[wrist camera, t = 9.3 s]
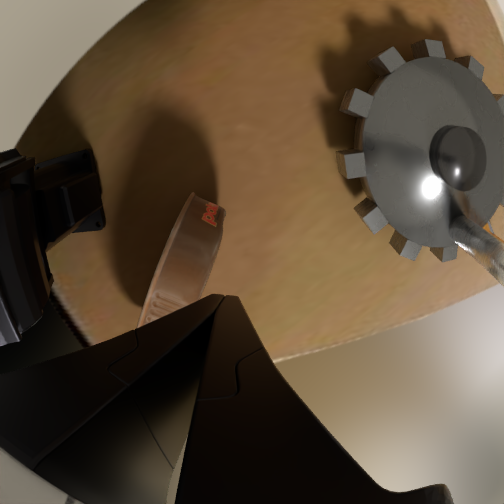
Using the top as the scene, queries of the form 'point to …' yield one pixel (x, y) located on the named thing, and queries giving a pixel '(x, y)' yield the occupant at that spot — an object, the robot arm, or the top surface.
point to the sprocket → (429, 154)
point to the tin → (185, 259)
